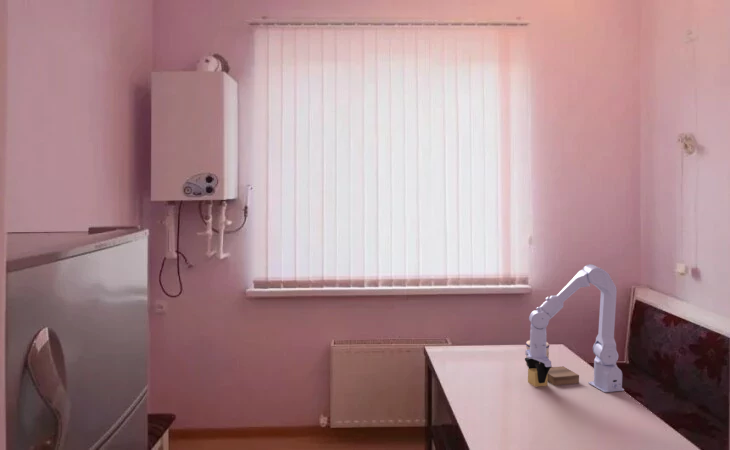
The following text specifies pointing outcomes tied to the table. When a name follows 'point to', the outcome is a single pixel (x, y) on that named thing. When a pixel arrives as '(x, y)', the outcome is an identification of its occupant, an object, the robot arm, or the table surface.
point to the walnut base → (562, 376)
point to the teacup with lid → (546, 348)
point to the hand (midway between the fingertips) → (537, 379)
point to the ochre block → (535, 378)
